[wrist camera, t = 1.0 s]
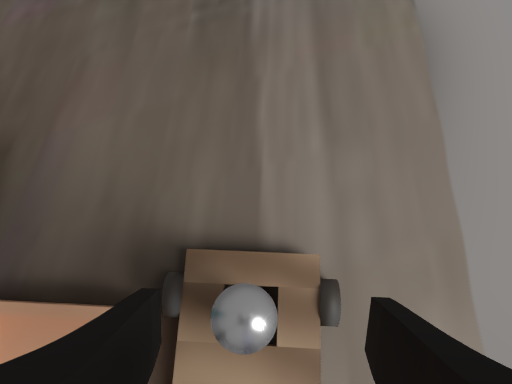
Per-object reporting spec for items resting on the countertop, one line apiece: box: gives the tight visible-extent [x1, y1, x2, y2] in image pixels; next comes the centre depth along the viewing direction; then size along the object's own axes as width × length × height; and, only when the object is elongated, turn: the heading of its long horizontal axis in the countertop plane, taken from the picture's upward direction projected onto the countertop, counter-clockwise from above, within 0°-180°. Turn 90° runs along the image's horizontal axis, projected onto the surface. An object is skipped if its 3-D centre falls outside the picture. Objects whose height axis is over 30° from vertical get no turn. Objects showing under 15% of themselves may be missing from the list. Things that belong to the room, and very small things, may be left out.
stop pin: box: [211, 283, 278, 355], centre depth 21 cm, size 3×3×8 cm
